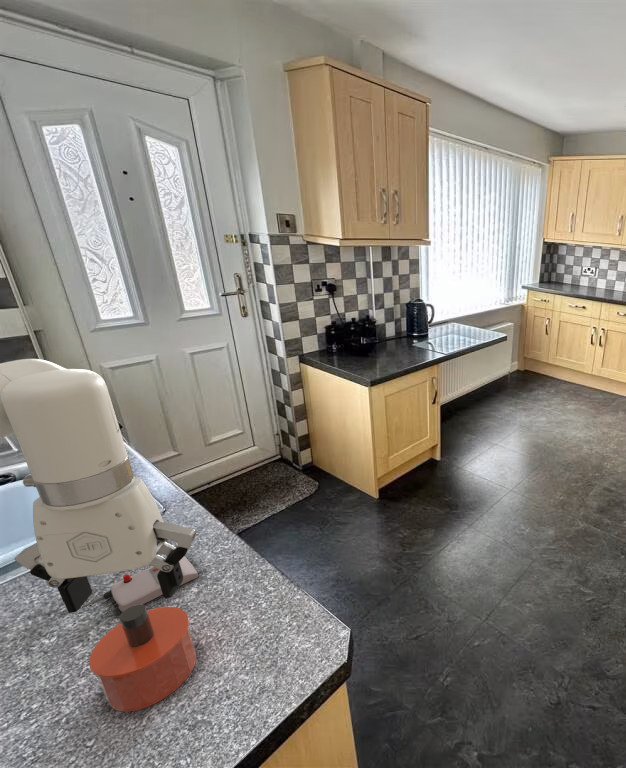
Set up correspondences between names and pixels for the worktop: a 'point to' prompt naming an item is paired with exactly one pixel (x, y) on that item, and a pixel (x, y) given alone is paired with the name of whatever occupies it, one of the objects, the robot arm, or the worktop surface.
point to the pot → (151, 679)
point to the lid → (138, 641)
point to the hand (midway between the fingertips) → (128, 596)
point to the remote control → (141, 587)
